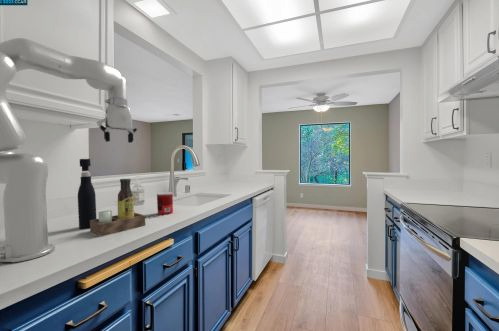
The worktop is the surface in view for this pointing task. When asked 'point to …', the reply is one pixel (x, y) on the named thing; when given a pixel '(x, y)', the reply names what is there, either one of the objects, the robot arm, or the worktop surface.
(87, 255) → the worktop surface
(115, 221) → the walnut caddy
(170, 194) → the canned food
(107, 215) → the pale green rounded block
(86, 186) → the black water bottle
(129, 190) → the sauce bottle
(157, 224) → the worktop surface
